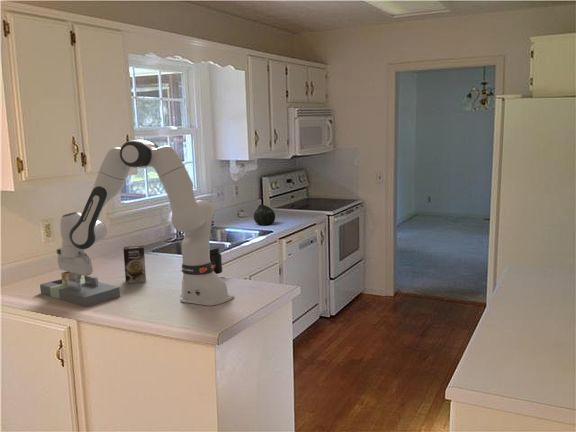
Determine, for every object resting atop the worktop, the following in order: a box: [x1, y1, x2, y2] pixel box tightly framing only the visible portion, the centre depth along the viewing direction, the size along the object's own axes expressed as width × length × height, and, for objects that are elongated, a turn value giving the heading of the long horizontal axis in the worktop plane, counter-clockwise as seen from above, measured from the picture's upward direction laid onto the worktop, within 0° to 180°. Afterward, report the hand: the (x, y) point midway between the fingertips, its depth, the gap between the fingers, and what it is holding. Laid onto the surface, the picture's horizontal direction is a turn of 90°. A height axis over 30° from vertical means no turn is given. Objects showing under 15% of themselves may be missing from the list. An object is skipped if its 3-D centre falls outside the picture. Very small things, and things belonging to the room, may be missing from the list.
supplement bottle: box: [209, 246, 223, 275], centre depth 256 cm, size 7×7×12 cm
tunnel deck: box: [39, 275, 121, 308], centre depth 228 cm, size 34×16×8 cm, turn 53°
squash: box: [253, 204, 276, 226], centre depth 380 cm, size 14×15×15 cm
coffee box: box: [123, 244, 147, 285], centre depth 245 cm, size 9×6×16 cm
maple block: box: [60, 271, 73, 285], centre depth 231 cm, size 5×5×5 cm
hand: (76, 282), depth 228 cm, fingers closed
